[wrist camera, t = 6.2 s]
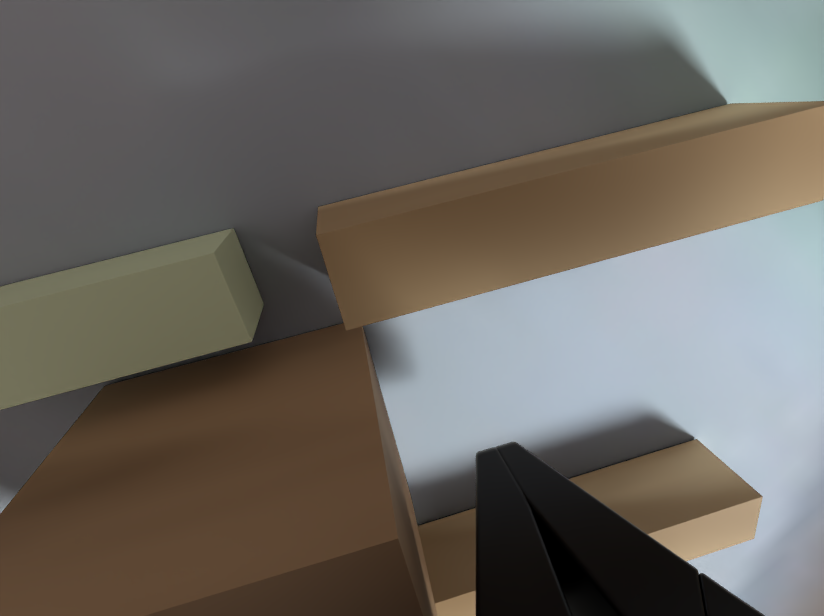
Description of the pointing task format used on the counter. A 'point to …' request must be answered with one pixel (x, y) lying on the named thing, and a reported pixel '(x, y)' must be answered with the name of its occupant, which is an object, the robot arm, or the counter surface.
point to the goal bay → (124, 316)
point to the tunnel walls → (570, 248)
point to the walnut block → (224, 495)
